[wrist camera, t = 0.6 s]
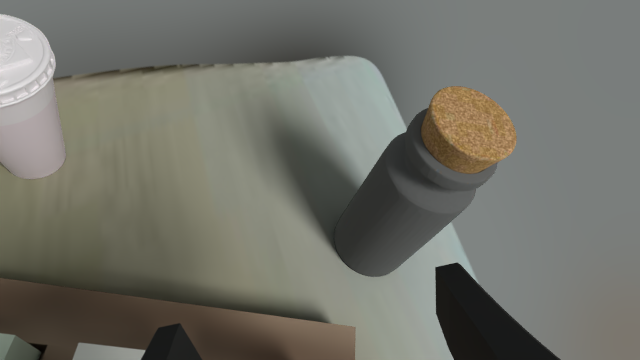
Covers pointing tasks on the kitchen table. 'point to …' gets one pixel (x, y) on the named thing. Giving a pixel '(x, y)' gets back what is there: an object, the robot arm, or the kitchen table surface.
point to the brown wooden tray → (159, 325)
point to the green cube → (16, 349)
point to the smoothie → (28, 102)
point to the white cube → (106, 352)
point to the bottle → (424, 180)
